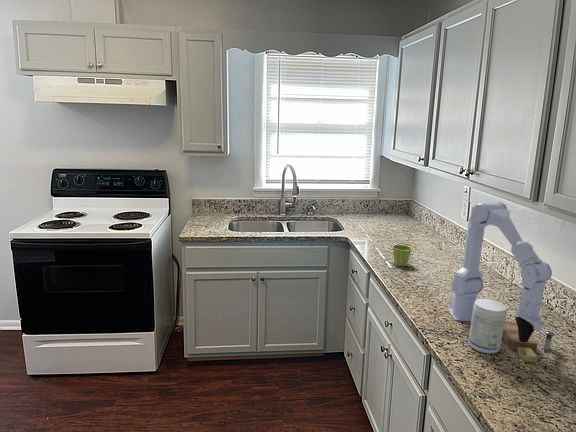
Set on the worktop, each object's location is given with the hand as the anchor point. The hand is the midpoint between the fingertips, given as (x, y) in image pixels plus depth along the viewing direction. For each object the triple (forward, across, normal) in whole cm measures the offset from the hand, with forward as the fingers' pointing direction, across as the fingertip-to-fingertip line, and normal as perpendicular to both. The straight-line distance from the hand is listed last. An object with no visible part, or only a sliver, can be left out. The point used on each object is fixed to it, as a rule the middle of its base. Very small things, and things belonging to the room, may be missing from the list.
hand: (523, 340), depth 142 cm
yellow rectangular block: (+1, -4, 0) cm, 4 cm away
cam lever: (+4, 0, -7) cm, 8 cm away
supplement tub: (+4, +1, +11) cm, 12 cm away
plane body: (+4, +8, -1) cm, 9 cm away
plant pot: (+4, +78, +24) cm, 82 cm away
